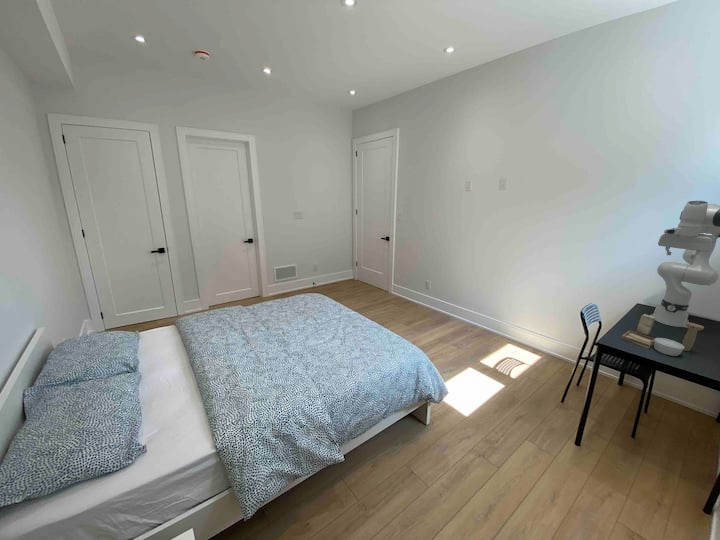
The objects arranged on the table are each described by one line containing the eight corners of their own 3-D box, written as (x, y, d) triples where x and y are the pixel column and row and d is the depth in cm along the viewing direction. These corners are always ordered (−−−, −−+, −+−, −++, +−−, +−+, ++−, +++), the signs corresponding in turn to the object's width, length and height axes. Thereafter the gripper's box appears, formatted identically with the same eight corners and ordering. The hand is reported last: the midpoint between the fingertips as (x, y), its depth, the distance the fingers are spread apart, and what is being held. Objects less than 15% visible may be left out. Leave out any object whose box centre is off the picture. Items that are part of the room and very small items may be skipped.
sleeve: (638, 332, 177) (644, 314, 174) (649, 335, 173) (655, 317, 170) (635, 334, 174) (641, 315, 171) (646, 337, 171) (652, 319, 167)
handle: (692, 354, 155) (702, 328, 151) (675, 348, 160) (685, 323, 156) (694, 351, 158) (705, 326, 153) (678, 345, 163) (687, 321, 158)
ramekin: (647, 348, 160) (650, 339, 158) (657, 344, 164) (661, 335, 162) (674, 359, 150) (678, 350, 148) (685, 354, 154) (688, 346, 153)
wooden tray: (628, 333, 175) (629, 330, 175) (655, 342, 166) (656, 339, 165) (620, 338, 169) (621, 335, 168) (648, 348, 159) (649, 345, 158)
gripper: (719, 234, 151) (710, 260, 155) (664, 229, 168) (657, 252, 172) (715, 235, 148) (706, 261, 152) (660, 229, 165) (653, 253, 169)
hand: (680, 256), depth 162 cm, fingers open, 8 cm apart
